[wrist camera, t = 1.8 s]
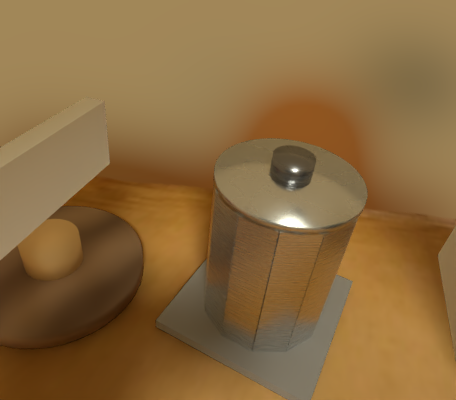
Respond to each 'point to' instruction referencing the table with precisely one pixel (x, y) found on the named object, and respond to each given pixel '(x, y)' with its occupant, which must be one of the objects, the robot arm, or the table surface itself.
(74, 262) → the pastry
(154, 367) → the table surface
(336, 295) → the mat
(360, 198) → the metal canister with knob
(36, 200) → the robot arm
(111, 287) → the plate
